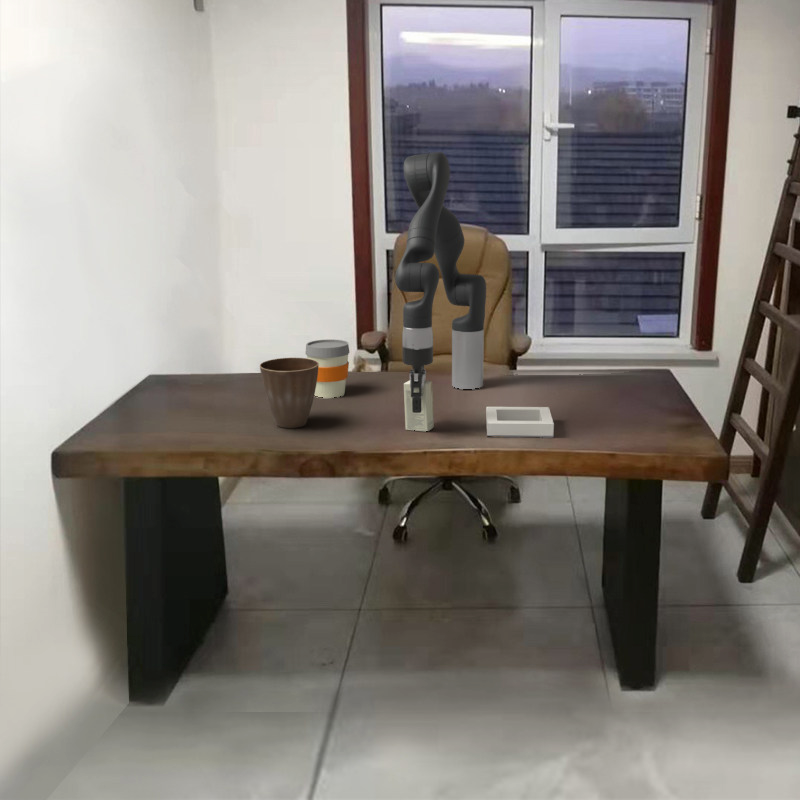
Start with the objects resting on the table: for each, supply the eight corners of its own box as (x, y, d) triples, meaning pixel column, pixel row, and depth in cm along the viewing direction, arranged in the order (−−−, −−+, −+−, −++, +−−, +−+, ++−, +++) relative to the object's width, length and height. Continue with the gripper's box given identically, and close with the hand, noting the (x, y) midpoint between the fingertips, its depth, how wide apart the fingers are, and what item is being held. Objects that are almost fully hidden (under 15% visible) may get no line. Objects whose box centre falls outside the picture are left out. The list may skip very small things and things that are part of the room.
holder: (486, 419, 235) (486, 406, 234) (548, 420, 233) (548, 407, 233) (487, 437, 220) (487, 423, 219) (553, 437, 219) (553, 423, 218)
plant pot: (332, 420, 236) (330, 360, 232) (299, 435, 224) (296, 373, 219) (285, 413, 243) (282, 355, 239) (251, 428, 231) (247, 367, 226)
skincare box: (434, 427, 228) (433, 381, 225) (427, 432, 225) (427, 385, 221) (410, 425, 231) (410, 378, 228) (403, 429, 227) (403, 382, 224)
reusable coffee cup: (354, 389, 267) (352, 339, 263) (346, 400, 255) (344, 348, 251) (312, 388, 269) (310, 339, 265) (302, 399, 257) (300, 347, 253)
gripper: (404, 338, 229) (405, 400, 233) (400, 350, 216) (400, 415, 220) (434, 338, 229) (434, 400, 233) (431, 350, 215) (431, 415, 219)
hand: (417, 407), depth 226 cm, fingers open, 8 cm apart
